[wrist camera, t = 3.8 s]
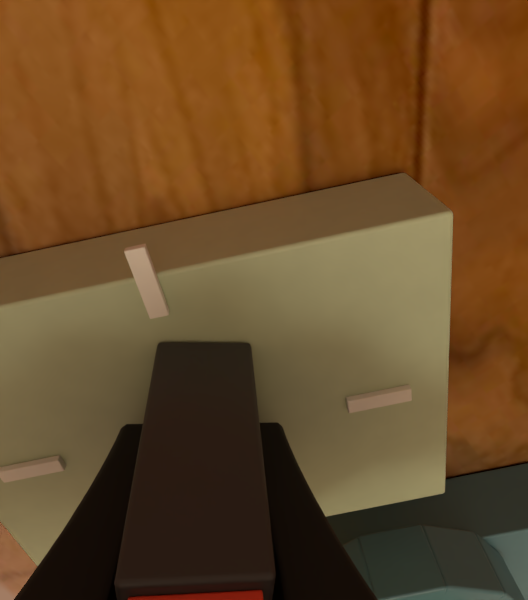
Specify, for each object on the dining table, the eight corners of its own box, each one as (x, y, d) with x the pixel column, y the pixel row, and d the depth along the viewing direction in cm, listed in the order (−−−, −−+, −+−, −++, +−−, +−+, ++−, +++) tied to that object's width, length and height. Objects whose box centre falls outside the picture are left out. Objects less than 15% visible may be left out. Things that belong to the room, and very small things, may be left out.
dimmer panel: (74, 504, 15) (49, 591, 13) (-94, 249, 10) (-184, 315, 8) (412, 436, 15) (448, 513, 12) (404, 143, 10) (460, 180, 8)
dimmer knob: (239, 503, 12) (252, 762, 8) (166, 506, 11) (138, 774, 7) (251, 341, 9) (279, 601, 5) (157, 340, 9) (107, 610, 5)
